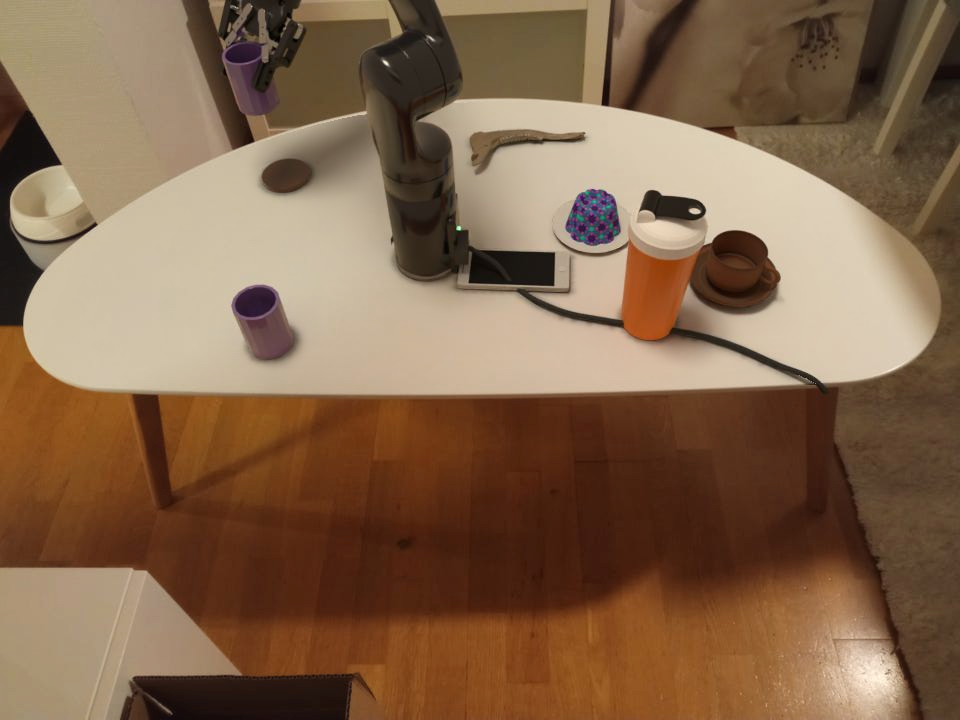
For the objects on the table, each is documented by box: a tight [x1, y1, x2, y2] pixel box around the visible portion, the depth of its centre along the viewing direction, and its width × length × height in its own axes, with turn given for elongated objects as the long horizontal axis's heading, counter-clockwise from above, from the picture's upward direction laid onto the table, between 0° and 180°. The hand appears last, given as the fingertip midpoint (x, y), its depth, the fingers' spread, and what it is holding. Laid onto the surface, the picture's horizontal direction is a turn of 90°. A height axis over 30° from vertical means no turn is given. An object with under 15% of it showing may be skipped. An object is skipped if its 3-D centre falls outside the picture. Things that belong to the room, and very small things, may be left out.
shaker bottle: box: [620, 188, 709, 341], centre depth 93 cm, size 9×9×20 cm
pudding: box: [551, 188, 631, 254], centre depth 110 cm, size 12×12×5 cm
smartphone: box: [456, 248, 571, 293], centre depth 107 cm, size 7×16×1 cm, turn 86°
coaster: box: [261, 157, 311, 193], centre depth 122 cm, size 8×8×1 cm
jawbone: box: [469, 128, 587, 167], centre depth 125 cm, size 9×20×2 cm, turn 115°
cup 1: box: [221, 41, 280, 117], centre depth 107 cm, size 6×6×8 cm
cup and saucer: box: [689, 229, 782, 307], centre depth 103 cm, size 12×12×6 cm
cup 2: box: [230, 284, 294, 360], centre depth 98 cm, size 6×6×8 cm
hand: (242, 83), depth 106 cm, fingers closed on cup 1, 6 cm apart
